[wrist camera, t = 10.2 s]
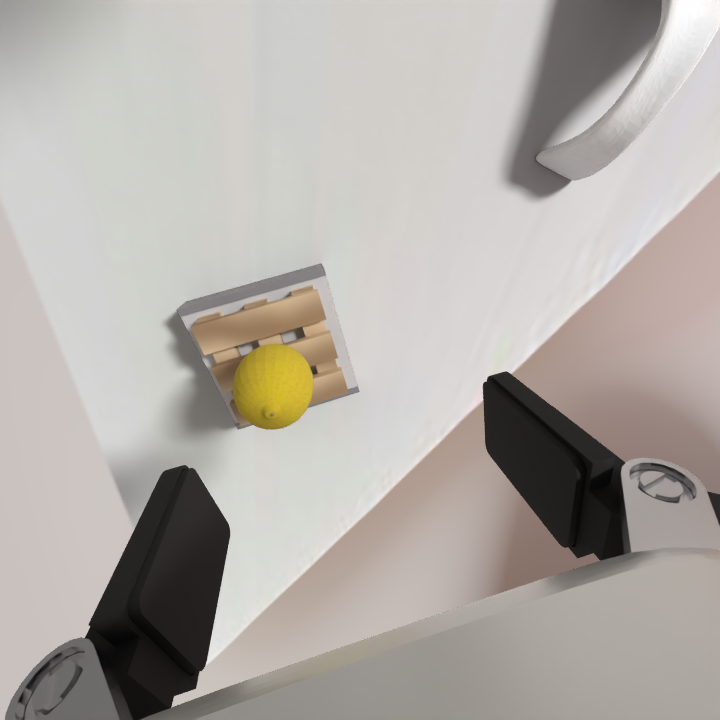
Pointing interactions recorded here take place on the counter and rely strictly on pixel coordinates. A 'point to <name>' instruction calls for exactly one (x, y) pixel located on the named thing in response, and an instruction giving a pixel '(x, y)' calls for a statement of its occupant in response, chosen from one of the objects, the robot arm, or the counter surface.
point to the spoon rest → (641, 90)
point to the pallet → (273, 340)
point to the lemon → (273, 386)
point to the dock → (275, 291)
